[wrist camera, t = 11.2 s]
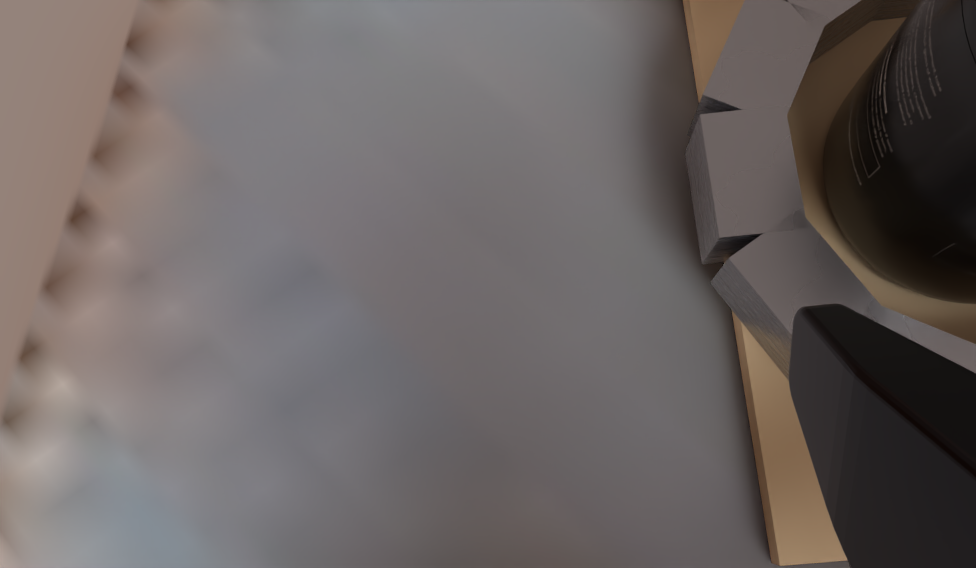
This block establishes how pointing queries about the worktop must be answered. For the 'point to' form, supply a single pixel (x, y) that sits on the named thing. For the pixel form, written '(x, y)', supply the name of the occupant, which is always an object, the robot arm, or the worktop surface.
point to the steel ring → (779, 178)
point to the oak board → (827, 81)
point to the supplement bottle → (912, 155)
